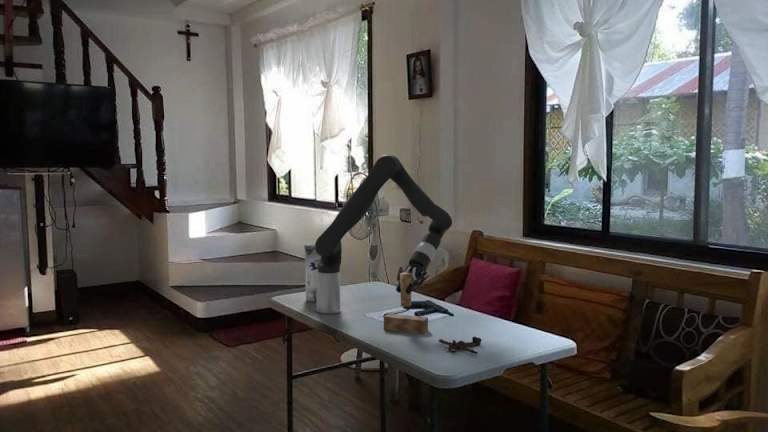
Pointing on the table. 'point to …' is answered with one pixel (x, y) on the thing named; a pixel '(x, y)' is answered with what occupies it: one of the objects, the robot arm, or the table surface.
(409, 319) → the walnut rail
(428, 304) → the gun
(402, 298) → the oak post
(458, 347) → the brown toy figure
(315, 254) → the juice carton
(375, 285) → the table surface
